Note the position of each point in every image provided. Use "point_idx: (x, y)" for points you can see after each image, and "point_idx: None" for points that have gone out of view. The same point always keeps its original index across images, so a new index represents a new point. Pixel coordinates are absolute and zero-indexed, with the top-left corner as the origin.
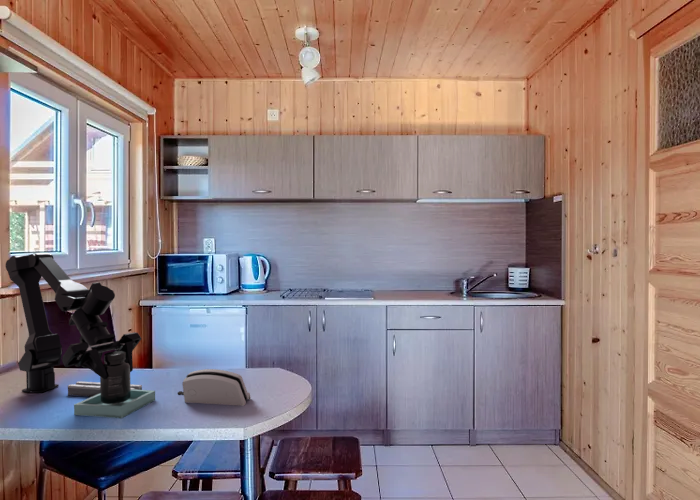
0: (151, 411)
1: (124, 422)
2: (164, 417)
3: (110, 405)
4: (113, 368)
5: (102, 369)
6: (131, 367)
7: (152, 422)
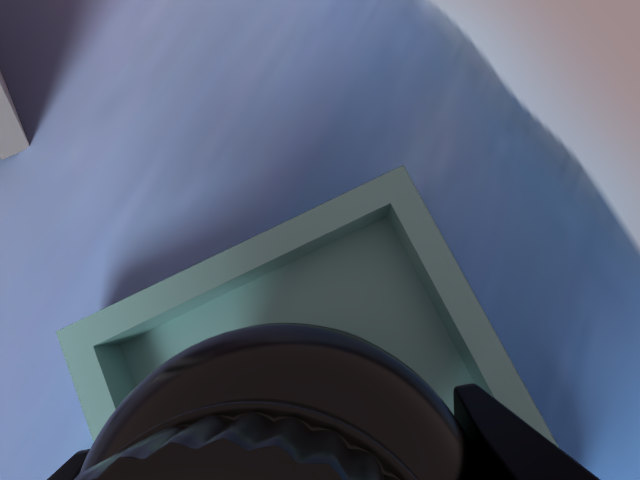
0: (229, 159)
1: (412, 117)
2: (242, 22)
3: (428, 275)
4: (387, 375)
5: (544, 451)
6: (75, 467)
7: (318, 6)
